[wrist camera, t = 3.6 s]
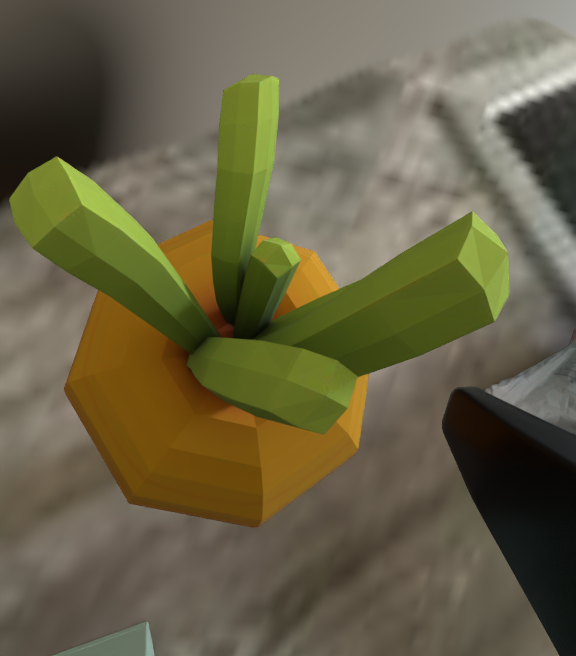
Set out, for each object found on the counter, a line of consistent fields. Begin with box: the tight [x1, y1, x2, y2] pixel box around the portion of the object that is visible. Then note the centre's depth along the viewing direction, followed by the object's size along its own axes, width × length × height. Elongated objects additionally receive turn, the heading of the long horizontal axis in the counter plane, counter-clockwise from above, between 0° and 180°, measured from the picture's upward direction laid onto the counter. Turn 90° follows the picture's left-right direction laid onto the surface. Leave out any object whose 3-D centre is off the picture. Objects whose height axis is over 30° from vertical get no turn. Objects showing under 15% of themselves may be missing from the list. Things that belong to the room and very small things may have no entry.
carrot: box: [9, 74, 509, 528], centre depth 11 cm, size 5×5×15 cm
